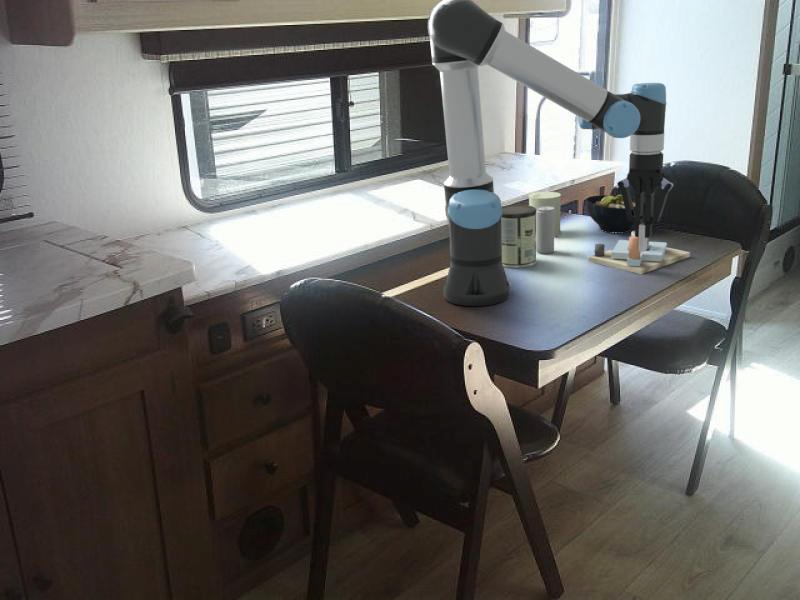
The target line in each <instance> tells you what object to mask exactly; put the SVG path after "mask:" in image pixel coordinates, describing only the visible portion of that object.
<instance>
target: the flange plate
mask: <svg viewBox="0 0 800 600" xmlns="http://www.w3.org/2000/svg"><path fill="white" fill-rule="evenodd" d="M638 243H639V237H635V236H633V237H631V236H629V237H628V240H625V239H619V240H618V241H617V243H616V244H615V246H614V248H612V249H613V251H612V255H611V258H613V259H627V265H629V266H640V264H641V262H642V260H643V261H659V262H661V261H662V259H663V256H664V254H665V251H666V249H667V248H668V247H667V245H668V243H667V242H664V241H663V242H662V241H649V251H644V252H639V251H638Z"/></svg>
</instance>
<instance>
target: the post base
mask: <svg viewBox="0 0 800 600" xmlns="http://www.w3.org/2000/svg"><path fill="white" fill-rule="evenodd" d="M633 236H635V230H632V231H631V234H630V237H633ZM649 242H650V238H647V250H645V251H649ZM605 247H606V245H605V244H604V243H596V244H594V254H593V255H590V256H588V262H589V263H594V264H598V265H602V266H606V267H609V268H614V269H617V270H622V271H625V272H627V271H628V272H630V273H635V274H639V275H643V274H645V273H648V272H649V273H650V272H651V271H654V270H657V269H659V268H663V267H665V266H668V265H672V264H674V263H678V262H680V261H682V260H685V259H688V258H691V251H690V252H689V251H685V250H680V249H676V248H671V247H667V249H666V251H665V254H664V256H663V259H662V261H661V262H659V261H643V260H642V262H641V264H640V266H629V265H627V259H613V258H611V255H612V251H613V249H614V248H612V249H609V250H606V251H605Z"/></svg>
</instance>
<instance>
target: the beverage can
mask: <svg viewBox="0 0 800 600" xmlns="http://www.w3.org/2000/svg"><path fill="white" fill-rule="evenodd" d="M554 220H555V211H554V208H553V207H549V206H542V207H538V208H537V210H536V253H537V254H540V255H549V254H553V252H554V251H555V237H554Z"/></svg>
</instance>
